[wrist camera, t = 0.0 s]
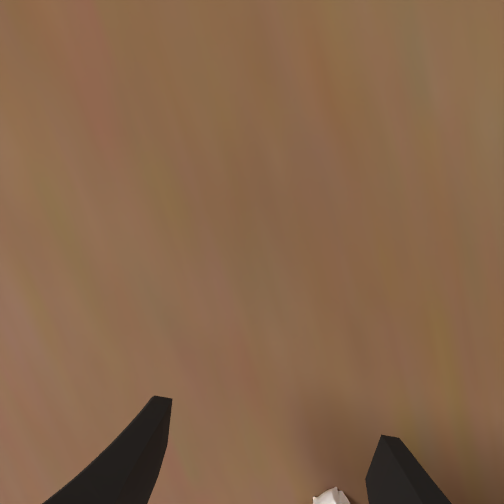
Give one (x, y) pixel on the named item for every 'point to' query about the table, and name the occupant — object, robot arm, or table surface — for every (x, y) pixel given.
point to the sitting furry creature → (331, 497)
